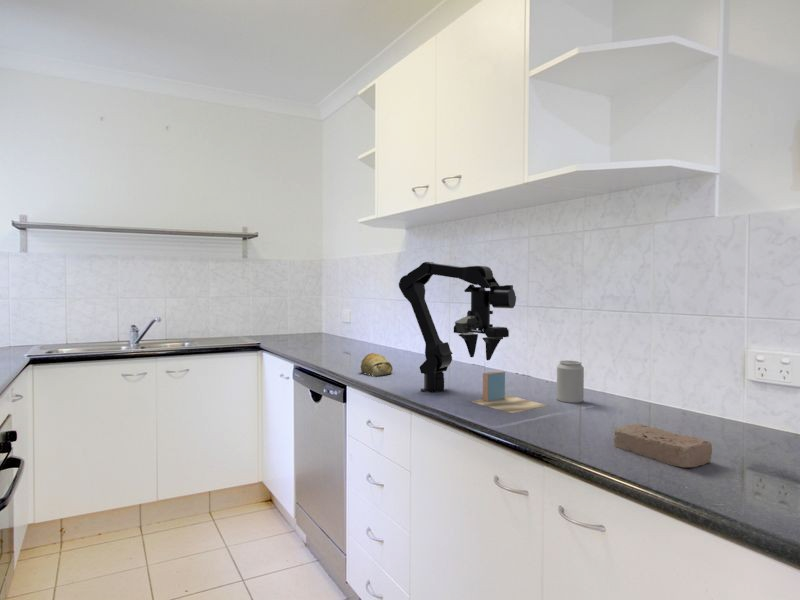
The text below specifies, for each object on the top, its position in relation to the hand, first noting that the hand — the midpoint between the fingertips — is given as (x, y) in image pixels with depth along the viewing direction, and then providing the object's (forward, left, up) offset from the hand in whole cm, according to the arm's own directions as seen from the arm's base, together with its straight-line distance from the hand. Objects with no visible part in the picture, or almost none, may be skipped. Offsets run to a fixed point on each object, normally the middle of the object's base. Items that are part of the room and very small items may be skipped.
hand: (479, 358), depth 152 cm
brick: (+58, -5, -13) cm, 59 cm away
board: (+12, 0, -12) cm, 17 cm away
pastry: (-54, -4, -12) cm, 55 cm away
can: (+19, +18, -12) cm, 29 cm away
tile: (+6, 0, -11) cm, 13 cm away
